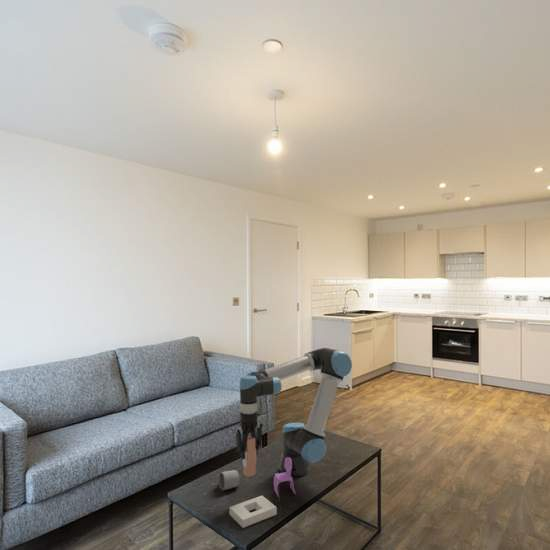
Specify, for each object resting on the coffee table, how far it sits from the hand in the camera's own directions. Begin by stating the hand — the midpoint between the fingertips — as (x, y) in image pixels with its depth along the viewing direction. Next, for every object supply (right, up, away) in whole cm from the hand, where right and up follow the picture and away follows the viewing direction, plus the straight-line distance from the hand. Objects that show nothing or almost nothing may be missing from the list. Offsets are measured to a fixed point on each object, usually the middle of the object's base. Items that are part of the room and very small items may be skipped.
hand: (249, 464), depth 176 cm
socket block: (+2, -14, -13) cm, 20 cm away
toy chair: (+16, -15, +4) cm, 22 cm away
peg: (0, -4, 0) cm, 4 cm away
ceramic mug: (-11, -15, +10) cm, 21 cm away
